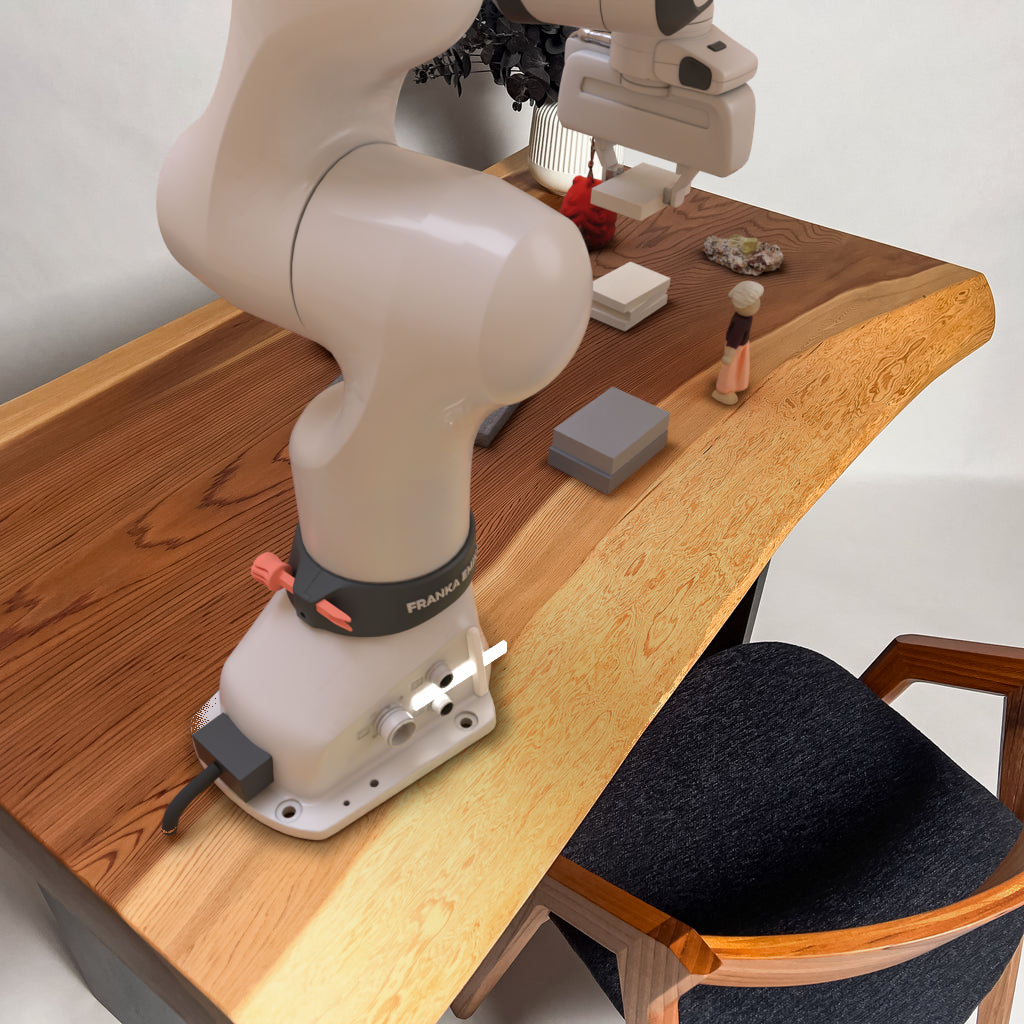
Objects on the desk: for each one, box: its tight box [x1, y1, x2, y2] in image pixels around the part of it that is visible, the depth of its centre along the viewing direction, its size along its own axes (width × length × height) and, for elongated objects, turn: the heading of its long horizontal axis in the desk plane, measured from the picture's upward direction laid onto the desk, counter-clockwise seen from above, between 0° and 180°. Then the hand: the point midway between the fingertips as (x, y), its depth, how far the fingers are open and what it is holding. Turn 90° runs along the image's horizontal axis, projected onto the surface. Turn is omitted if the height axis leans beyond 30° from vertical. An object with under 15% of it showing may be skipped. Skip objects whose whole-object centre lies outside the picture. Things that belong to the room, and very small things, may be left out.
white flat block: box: [591, 162, 693, 222], centre depth 96 cm, size 9×6×2 cm, turn 140°
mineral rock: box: [701, 233, 785, 277], centre depth 125 cm, size 11×4×8 cm
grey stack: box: [547, 386, 671, 496], centre depth 92 cm, size 10×7×4 cm
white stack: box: [590, 261, 671, 332], centre depth 114 cm, size 10×7×4 cm
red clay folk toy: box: [560, 136, 618, 251], centre depth 123 cm, size 8×7×15 cm
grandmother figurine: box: [711, 280, 765, 406], centre depth 98 cm, size 8×4×13 cm, turn 168°
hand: (642, 193), depth 96 cm, fingers closed on white flat block, 6 cm apart
